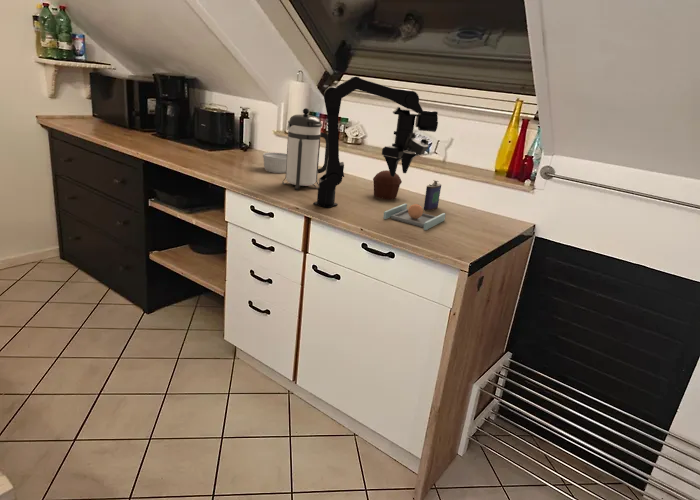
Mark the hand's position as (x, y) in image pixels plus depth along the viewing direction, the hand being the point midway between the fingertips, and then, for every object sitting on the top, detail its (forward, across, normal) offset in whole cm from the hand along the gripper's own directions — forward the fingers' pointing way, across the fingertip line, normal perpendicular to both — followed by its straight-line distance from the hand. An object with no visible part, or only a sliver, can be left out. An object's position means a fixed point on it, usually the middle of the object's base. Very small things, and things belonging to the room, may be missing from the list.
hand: (398, 174), depth 171 cm
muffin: (+13, +16, +12) cm, 24 cm away
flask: (+13, +15, -8) cm, 22 cm away
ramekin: (+13, +15, +66) cm, 69 cm away
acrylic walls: (+13, -4, -10) cm, 17 cm away
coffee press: (+13, +2, +42) cm, 44 cm away
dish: (+13, -4, -10) cm, 17 cm away
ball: (+10, -4, -10) cm, 15 cm away
